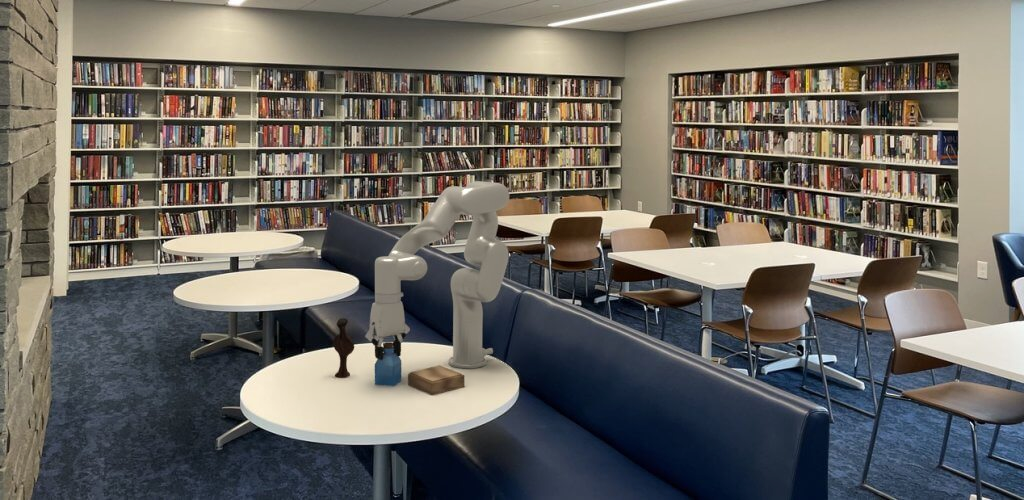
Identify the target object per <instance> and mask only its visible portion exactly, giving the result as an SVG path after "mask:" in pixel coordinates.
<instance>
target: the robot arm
mask: <svg viewBox="0 0 1024 500" xmlns="http://www.w3.org/2000/svg"><path fill="white" fill-rule="evenodd" d="M509 200H510V191H509V190H508V187H507V186H505V184H502V183H499V182H494V181H493V182H491V181H490V182H489V181H481V180H480V181H479V180H476V181H471V182H468V183H467V184H466V186H455V185H454V186H453V185H452V186H448V187H446V188H444V190H442V192H441V194H440V195H439V196H438V197H437V200H436V201H435V202H434V204H433V205H432V207H431V208H430V209H429V211H428V212H427V214H426V215H425V217H424V218H423V219H422V220H421V222H420V223H418V224H416V225H415V226H414V227H412V228H411V229H409V230H408V231H407V232H405V234H403V235H402V236H401V237H400V238H399V239H398V241H397V242H396V243H395V244H394V246H393V248H392V249H391V251H390V252H389V253H388V256H387V255H386V256H384V255H383V256H379V257H376V259H375V261H374V302H373V303H372V305H371V310H370V317H369V329H368V331H367V332H366V334H365V336H364V337H365V338H366V339H367V340H368V341H369V343H372V344H373V346H374V357H375V359H376V360H377V359H379V360H382V359H383V341H384V338H386V337H393V339H394V341H393V342H392V343H393V347H394V351H393V353H397V356H399V357H401V355H402V353H401V352H402V343H403V342H404V339H405V337H406V335H407V334H409V332H410V331H411V329H410V328H411V327H409V326H408V324H406V318H405V310H404V304H403V302H402V301H401V299H402V297H404V292H403V291H402V292H401V281H417V280H420V279H423V277H424V276H425V275H426V274H427V271H428V264H427V262H426V260H425V259H424V258H423V257H422V256H419V255H415V254H416V253H417V252H418V251H420V249H422V248H423V247H425V246H427V245H429V244H432V243H436V242H438V241H441V240H442V239H444V238H445V237H446V236H447V235H448V234H449V232H450V230H451V229H452V227H453V226H454V224H455V223H456V221H457V220H458V218H459V217H460V215H464V216H472V221H471V222H472V223H471V225H470V231H469V233H468V236H467V240H466V243H465V247H464V252H463V257H464V259H465V261H466V262H467V263H469V264H470V265H473V266H477V267H480V269H474V268H471V267H462V268H459V269H457V270H455V272H454V273H453V274H452V276H451V278H450V291H451V295H452V302H453V303H452V304H453V306H452V307H453V314H452V315H453V316H452V318H453V319H452V321H453V326H452V329H453V331H452V332H453V333H452V335H453V336H452V344H453V345H452V351H453V352H452V356H450V357H449V358H448V360H447V362H448V365H449V366H451V367H454V368H458V369H477V368H481V367H483V366H486V365H487V358H485V357H486V356H488V355H492V354H493V353H494V350H493V349H494V348H492V347H489V348H486V349H485V348H484V347H483V320H484V319H483V317H484V315H483V314H484V313H483V305H482V303H490V302H492V301H493V300H494V299H496V297H497V296H498V295H499V292H500V290H501V286H502V284H503V280H504V276H505V273H506V270H507V266H508V263H509V258H510V257H509V249H508V246H507V245H506V243H505V242H504V241H502V240H499V239H496V236H497V232H498V228H499V219H498V213H497V211H500V210H502V209H503V208H505V207H506V206H507V205H508V203H509Z"/></svg>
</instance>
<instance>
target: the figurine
mask: <svg viewBox="0 0 1024 500" xmlns="http://www.w3.org/2000/svg"><path fill="white" fill-rule="evenodd" d="M347 324H348V318H346V317H345V318H343V317H342V318H339V319H338V320H337V322H336V326H337V328H338V329H339V334H337V335H336V336H334V339H333V340H332V341H333V342H332V345H333V349H334V350H335V351H336V352H337V354H338V357H339V367H338V368H339V369H338V370H337V372H336V373H335V374H334V377H335V378H338V379H346V378H349V377H350V375H351V373H350V371H348V368H347V367H348V365H347V362H348V356H349V355H351V354H352V353H353V351H354V350H355V343H354V342H353V339H352V338H351V337H350V336H349V334H347V331H346V326H347Z"/></svg>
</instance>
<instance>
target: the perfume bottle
mask: <svg viewBox="0 0 1024 500" xmlns="http://www.w3.org/2000/svg"><path fill="white" fill-rule="evenodd" d="M382 347H383V359H382V360H379V359H377V358H376V361H375V363H374V385H377V386H386V387H387V386H389V387H395V386H396V385H398V384H399V383H400V382H401V381H402V359H401V356H397V353H393V351H394V347H393V342H390V341H389V342H382Z"/></svg>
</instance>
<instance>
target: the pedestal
mask: <svg viewBox="0 0 1024 500" xmlns="http://www.w3.org/2000/svg"><path fill="white" fill-rule="evenodd" d="M407 385H408V386H409V387H410V388H411V387H412V388H414V389H417V390H419V391H421V392H423V393H426V394H428V395H431V396H434V395H439V394H442V393H445V392H449V391H454V390H457V389H461V388H464V387H465V375H464V374H463V373H460V372H459V371H456V370H453V369H451V368H447V367H445V366H442V365H436V366H431V367H427V368H423V369H422V368H421V369H417V370H414V371H410V372H409V373H407Z"/></svg>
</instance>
